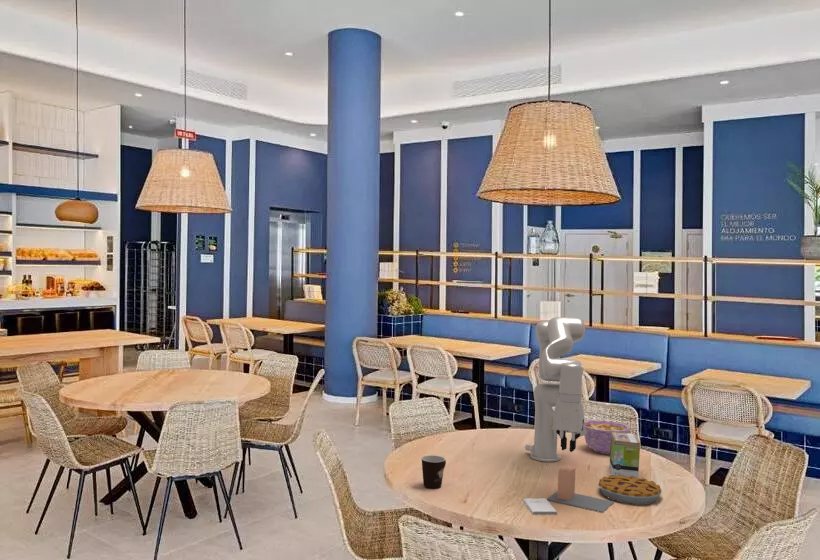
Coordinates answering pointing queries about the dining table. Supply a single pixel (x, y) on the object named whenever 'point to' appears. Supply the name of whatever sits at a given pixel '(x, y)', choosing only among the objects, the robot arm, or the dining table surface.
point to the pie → (629, 489)
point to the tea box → (624, 454)
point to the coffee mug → (433, 471)
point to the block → (566, 483)
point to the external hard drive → (539, 506)
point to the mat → (583, 502)
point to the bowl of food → (602, 434)
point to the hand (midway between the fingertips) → (568, 449)
